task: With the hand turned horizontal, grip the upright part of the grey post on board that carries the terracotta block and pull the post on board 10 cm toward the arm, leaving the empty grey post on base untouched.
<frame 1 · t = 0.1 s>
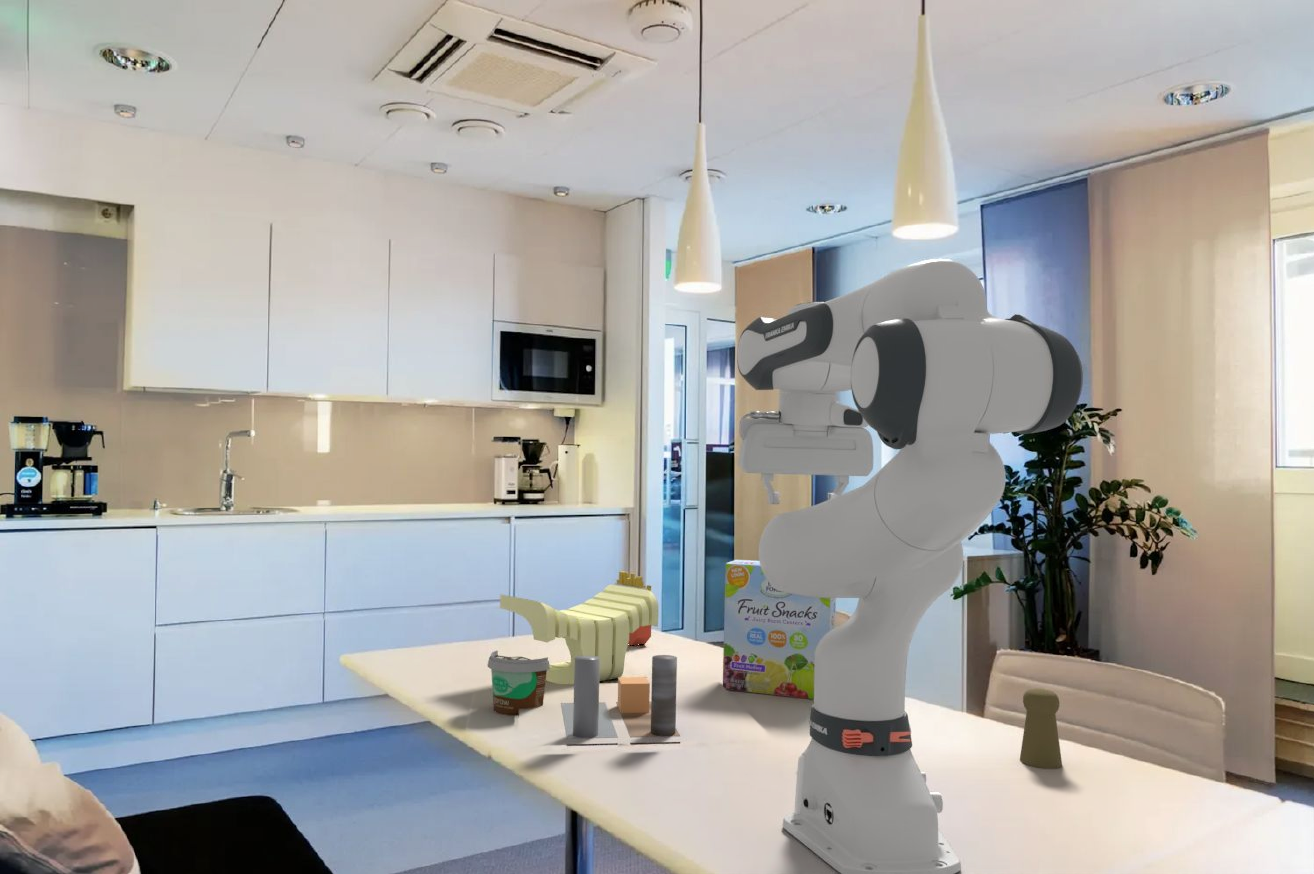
hand: (803, 504, 136), 39 cm above the table, tool pointing down, fingers open, 8 cm apart
olive green pawn: (1040, 763, 138), on the table
grey post on base: (588, 686, 152), point 7 cm above the table, slide at 0.0 cm
food container: (510, 714, 160), on the table
slatted curved stool: (579, 679, 189), on the table
grey post on board: (646, 685, 154), point 7 cm above the table, slide at 0.0 cm, touching terracotta block
french fries container: (632, 644, 230), on the table
snack box: (778, 692, 181), on the table
terracotta block: (633, 708, 159), point 1 cm above the table, touching grey post on board
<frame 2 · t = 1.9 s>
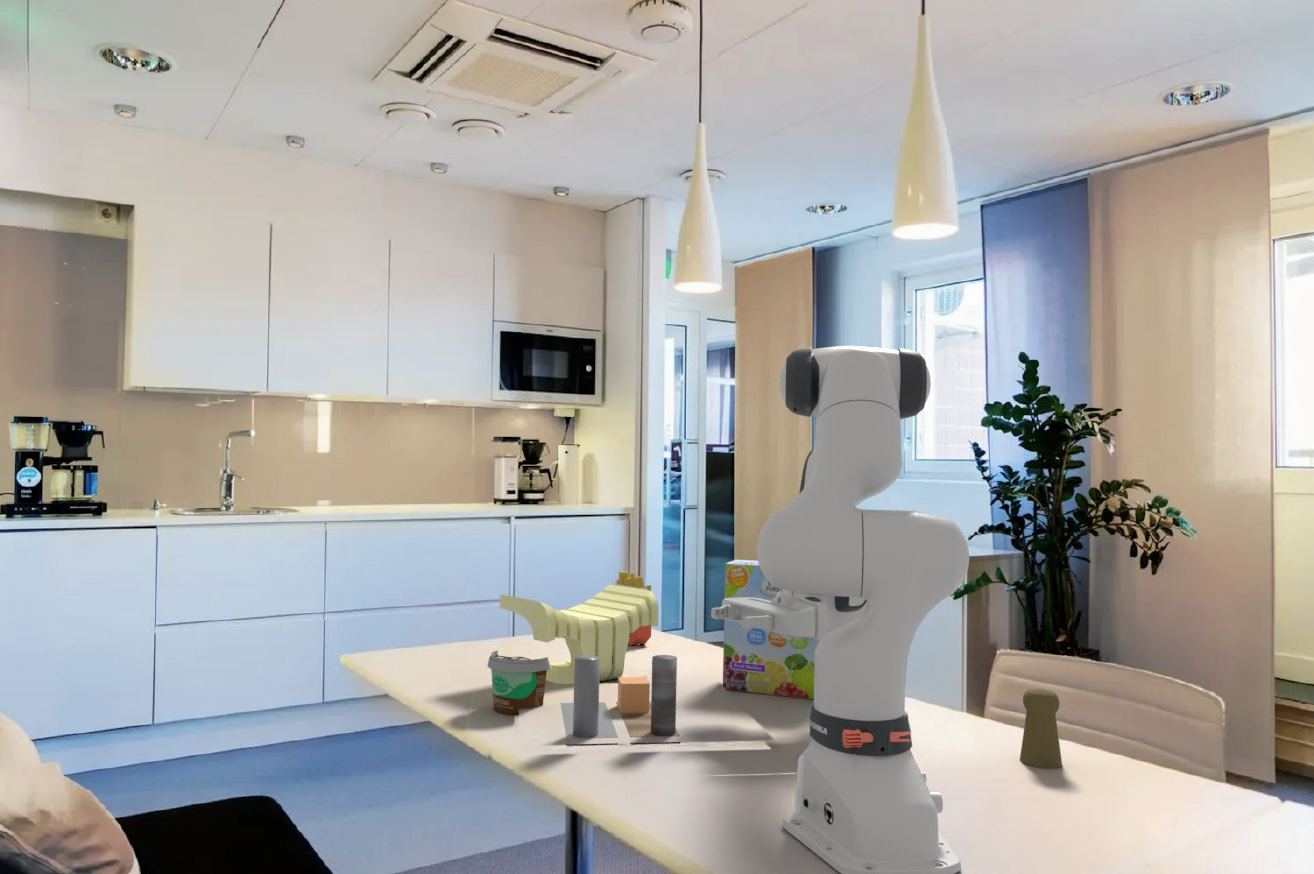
hand: (728, 618, 152), 19 cm above the table, tool horizontal, fingers open, 8 cm apart
nothing on the table moved.
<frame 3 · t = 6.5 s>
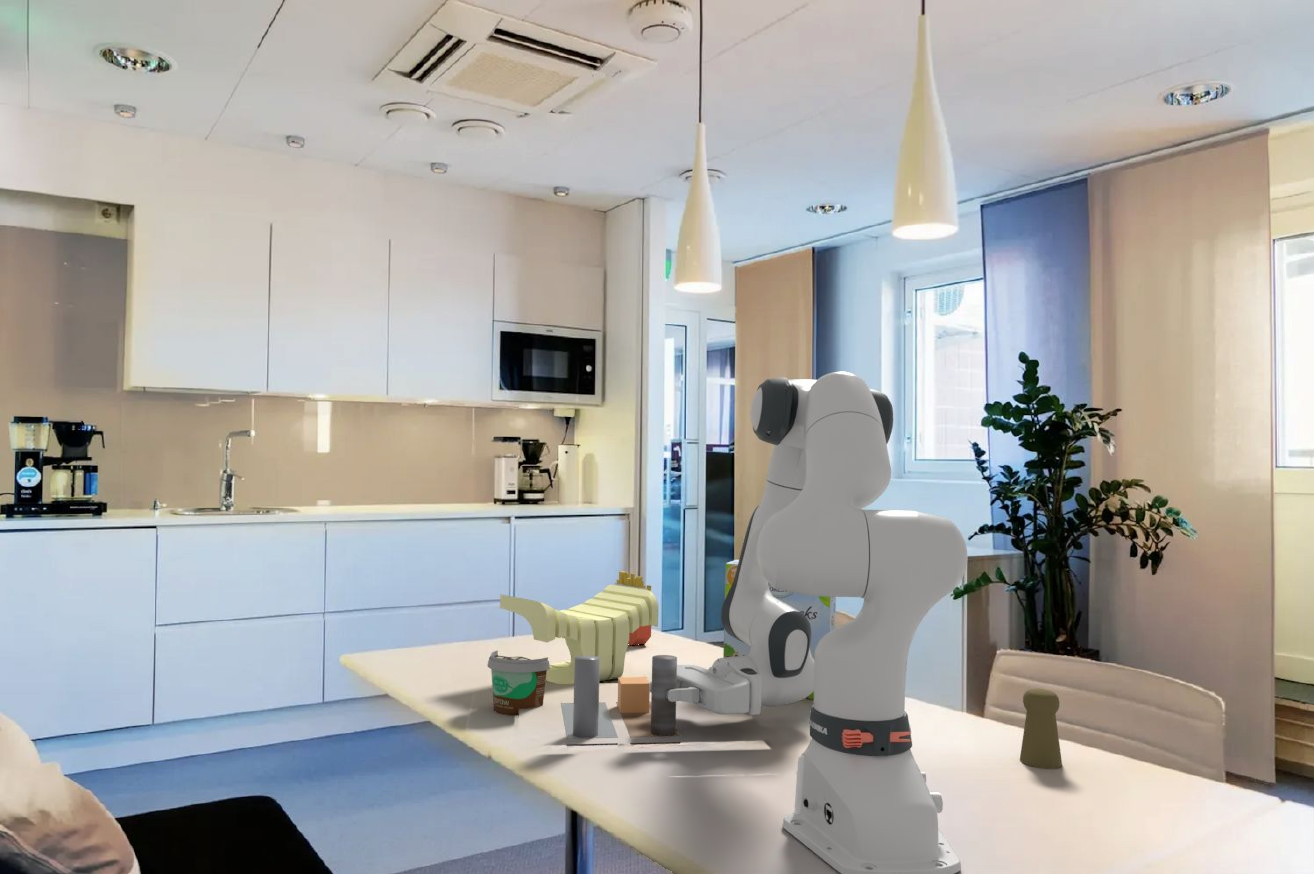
hand: (659, 691, 145), 8 cm above the table, tool horizontal, fingers closed on grey post on board, 4 cm apart
grey post on board: (646, 685, 154), point 7 cm above the table, slide at 0.0 cm, touching gripper, terracotta block
everything else where it was.
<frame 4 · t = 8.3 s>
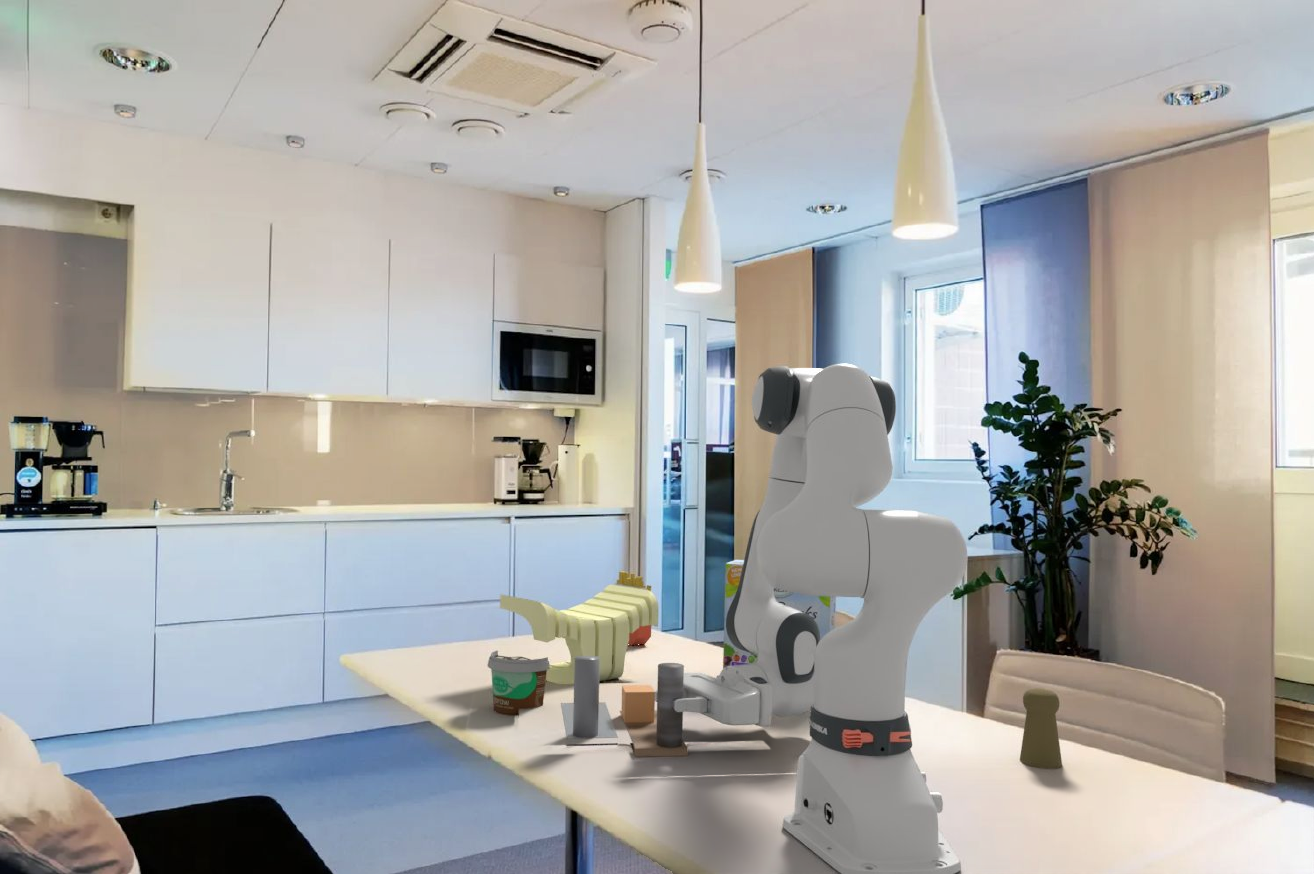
hand: (665, 701, 139), 8 cm above the table, tool horizontal, fingers closed on grey post on board, 4 cm apart
grey post on board: (652, 694, 148), point 7 cm above the table, slide at 6.2 cm, touching gripper, terracotta block
terracotta block: (637, 718, 153), point 1 cm above the table, touching grey post on board
everything else where it was.
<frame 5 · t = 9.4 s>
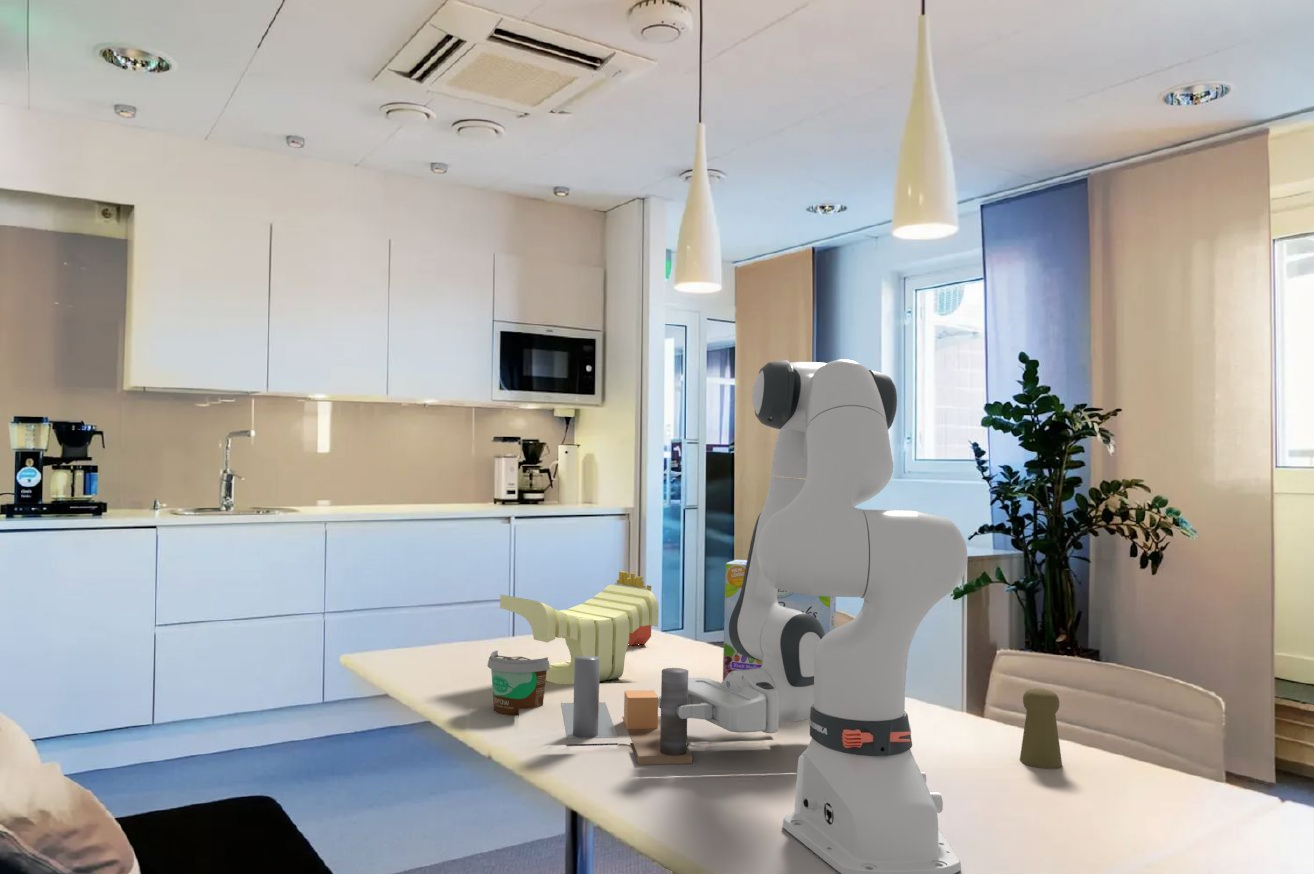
hand: (669, 707, 135), 8 cm above the table, tool horizontal, fingers closed on grey post on board, 4 cm apart
grey post on board: (655, 700, 144), point 7 cm above the table, slide at 10.0 cm, touching gripper, terracotta block
terracotta block: (640, 724, 150), point 1 cm above the table, touching grey post on board
everything else where it was.
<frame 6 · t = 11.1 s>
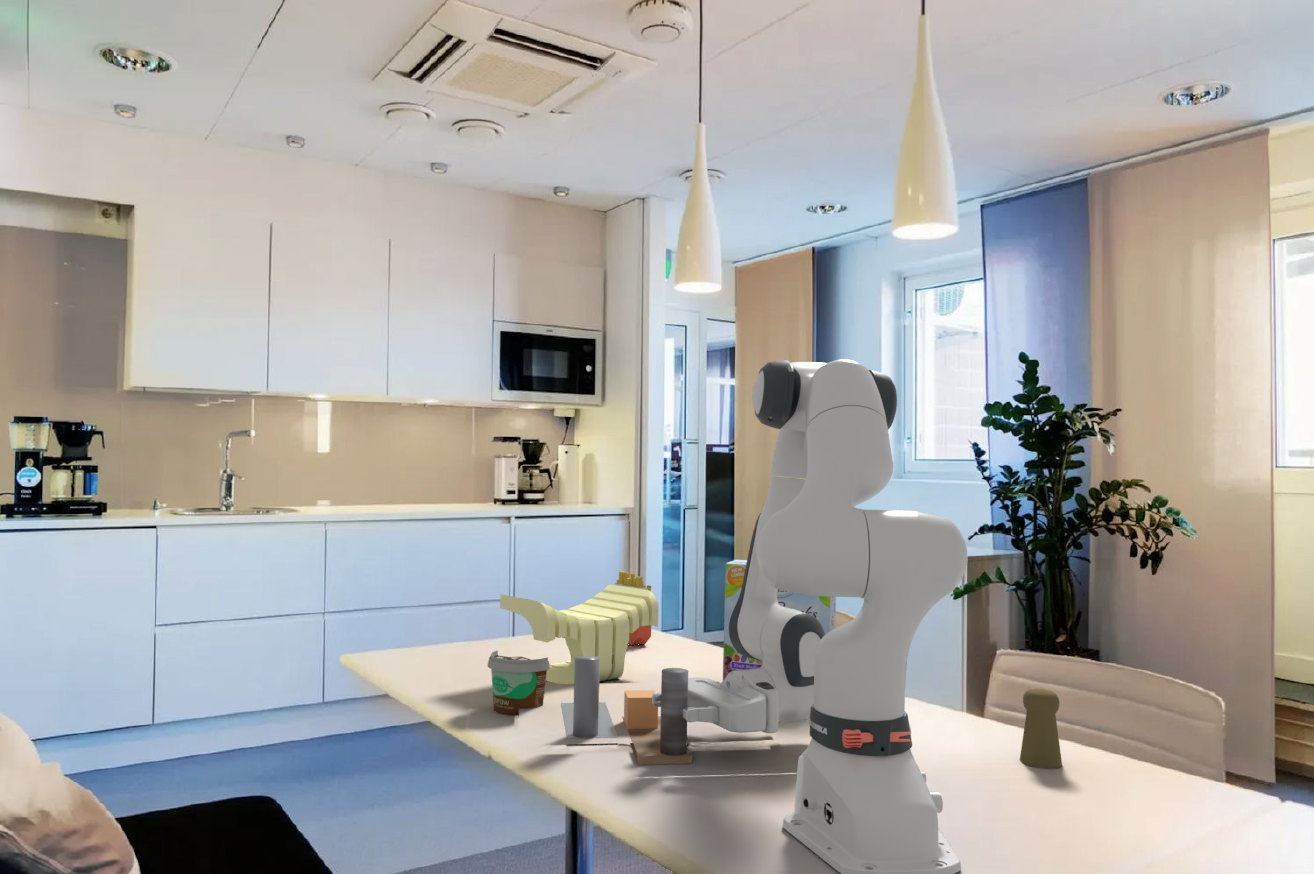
hand: (669, 707, 135), 8 cm above the table, tool horizontal, fingers open, 8 cm apart
grey post on board: (655, 700, 144), point 7 cm above the table, slide at 10.0 cm, touching terracotta block
everything else where it was.
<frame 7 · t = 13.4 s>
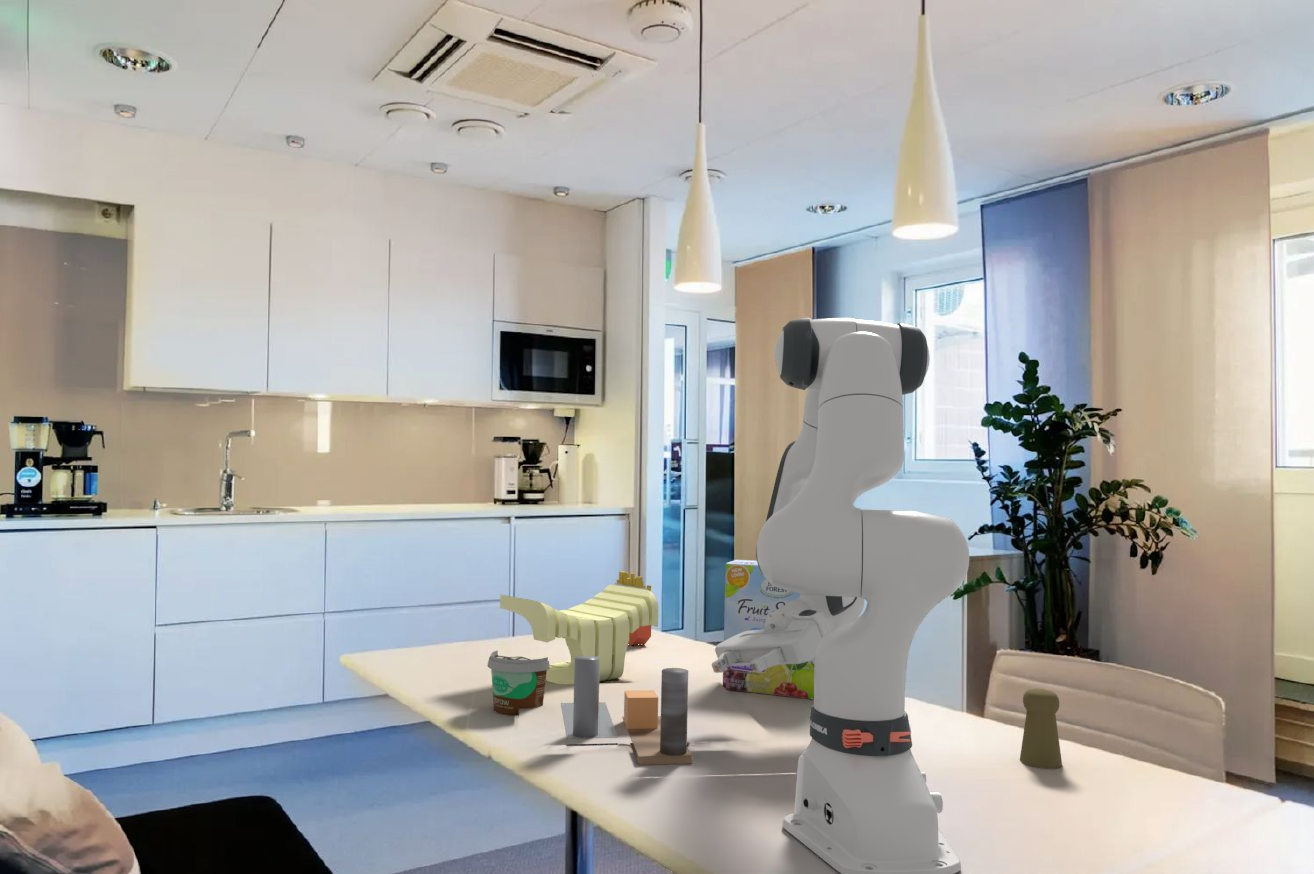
hand: (734, 667, 141), 13 cm above the table, tool tilted 70°, fingers open, 8 cm apart
nothing on the table moved.
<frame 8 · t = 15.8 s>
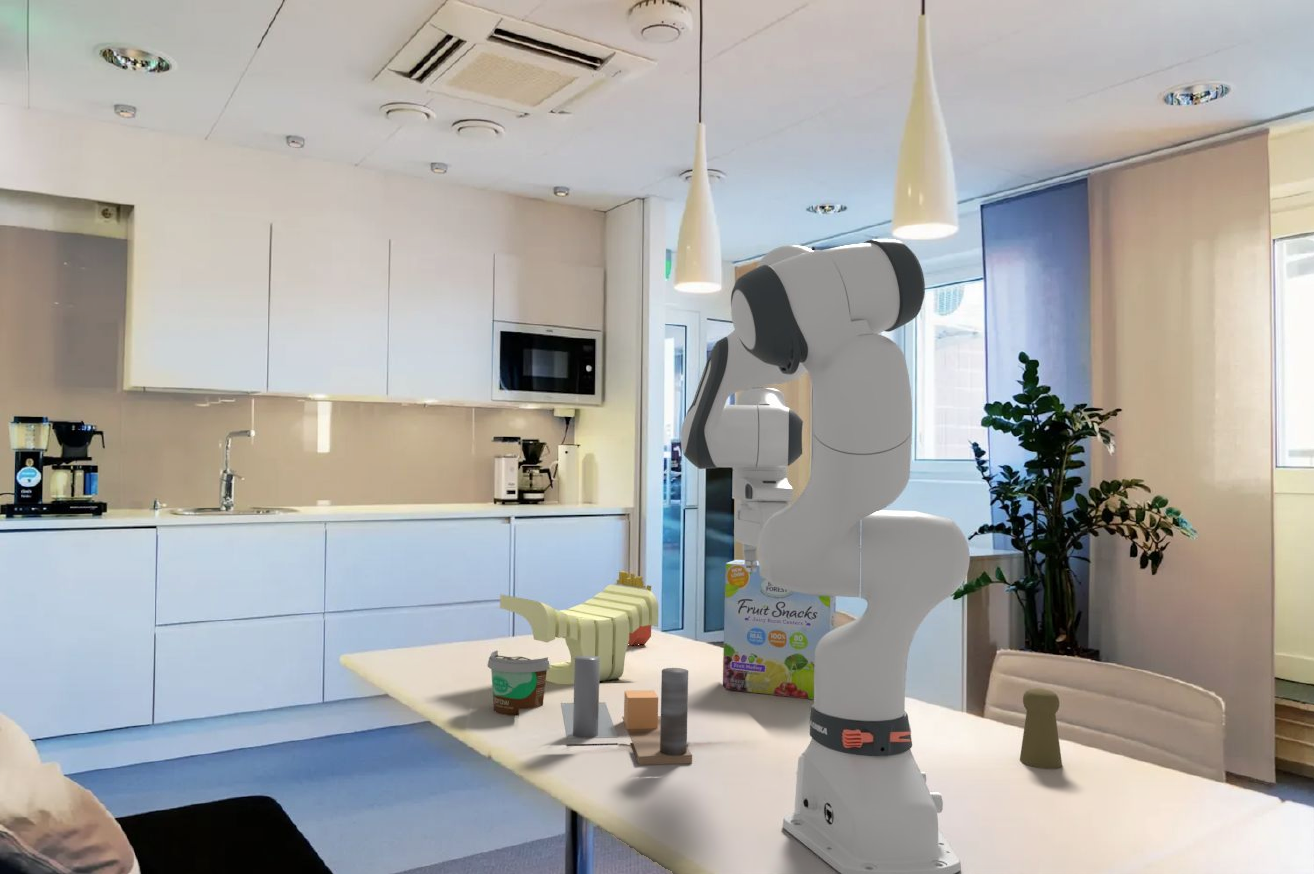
hand: (758, 574, 145), 27 cm above the table, tool pointing down, fingers open, 8 cm apart
nothing on the table moved.
at the end: grey post on board slide at 10.0 cm; terracotta block inside the target area (0.7 cm from its centre), point 1.4 cm above the table; grey post on base slide at 0.0 cm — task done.
